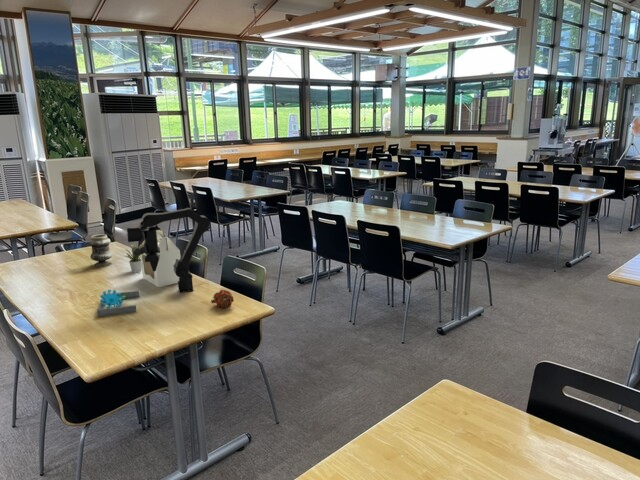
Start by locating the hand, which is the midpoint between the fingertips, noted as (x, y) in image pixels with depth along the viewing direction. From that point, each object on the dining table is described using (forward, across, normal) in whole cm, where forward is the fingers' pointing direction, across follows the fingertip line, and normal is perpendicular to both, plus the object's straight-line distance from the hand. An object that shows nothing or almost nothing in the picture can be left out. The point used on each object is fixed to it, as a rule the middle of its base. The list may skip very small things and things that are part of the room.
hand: (154, 271), depth 224 cm
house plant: (+12, -46, -11) cm, 49 cm away
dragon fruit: (+12, +27, +29) cm, 41 cm away
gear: (+12, +10, -18) cm, 24 cm away
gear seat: (+12, +10, -16) cm, 22 cm away
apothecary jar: (+12, -68, -33) cm, 77 cm away
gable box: (+12, -24, +2) cm, 27 cm away
